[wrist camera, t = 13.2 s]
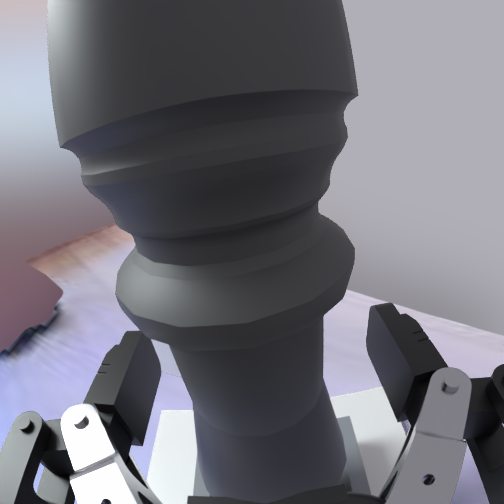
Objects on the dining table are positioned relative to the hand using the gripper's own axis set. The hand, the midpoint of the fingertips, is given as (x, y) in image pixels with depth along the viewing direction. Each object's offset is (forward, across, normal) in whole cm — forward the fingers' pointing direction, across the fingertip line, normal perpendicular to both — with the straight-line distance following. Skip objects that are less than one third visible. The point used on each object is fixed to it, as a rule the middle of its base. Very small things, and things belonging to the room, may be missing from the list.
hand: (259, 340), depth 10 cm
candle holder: (-2, 0, +15) cm, 15 cm away
